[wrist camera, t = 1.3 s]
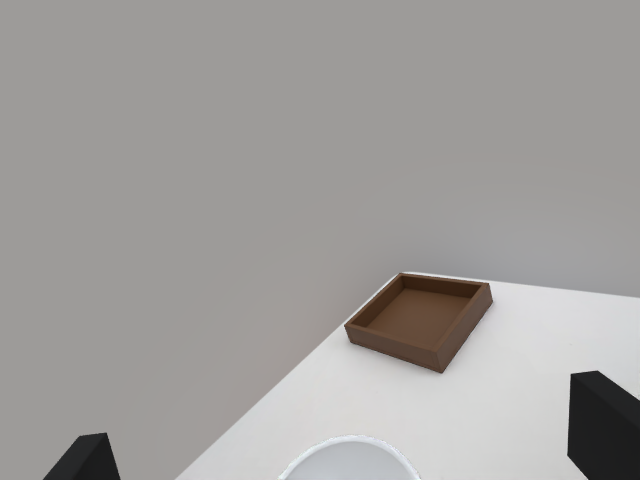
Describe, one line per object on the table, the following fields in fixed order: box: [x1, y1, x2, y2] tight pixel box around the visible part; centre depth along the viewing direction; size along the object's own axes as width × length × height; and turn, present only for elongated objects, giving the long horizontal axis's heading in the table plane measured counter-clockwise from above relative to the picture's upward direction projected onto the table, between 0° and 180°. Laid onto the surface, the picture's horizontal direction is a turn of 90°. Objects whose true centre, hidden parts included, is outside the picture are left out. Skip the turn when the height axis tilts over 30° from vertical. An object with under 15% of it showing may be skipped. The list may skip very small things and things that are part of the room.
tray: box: [344, 273, 493, 373], centre depth 49 cm, size 14×14×3 cm
